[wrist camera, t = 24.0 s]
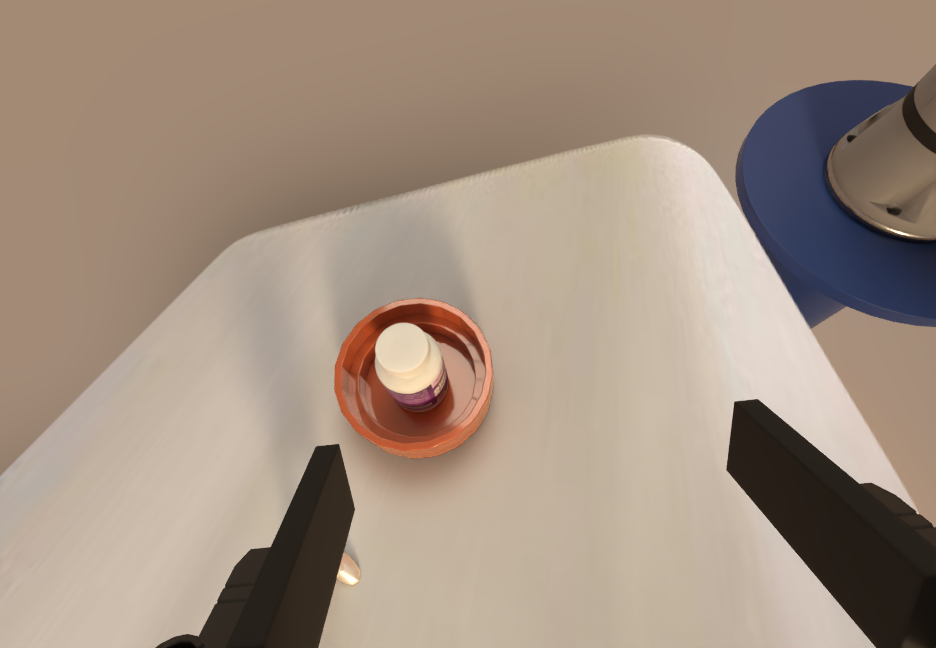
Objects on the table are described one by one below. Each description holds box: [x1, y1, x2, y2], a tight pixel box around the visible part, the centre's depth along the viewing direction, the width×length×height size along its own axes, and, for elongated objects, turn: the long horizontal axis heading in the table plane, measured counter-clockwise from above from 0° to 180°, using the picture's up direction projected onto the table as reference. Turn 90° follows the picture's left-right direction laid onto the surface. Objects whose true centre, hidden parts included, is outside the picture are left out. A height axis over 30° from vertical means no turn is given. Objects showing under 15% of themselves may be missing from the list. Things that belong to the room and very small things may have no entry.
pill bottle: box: [375, 323, 448, 412], centre depth 38 cm, size 5×5×10 cm
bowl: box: [334, 298, 493, 459], centre depth 41 cm, size 13×13×5 cm
